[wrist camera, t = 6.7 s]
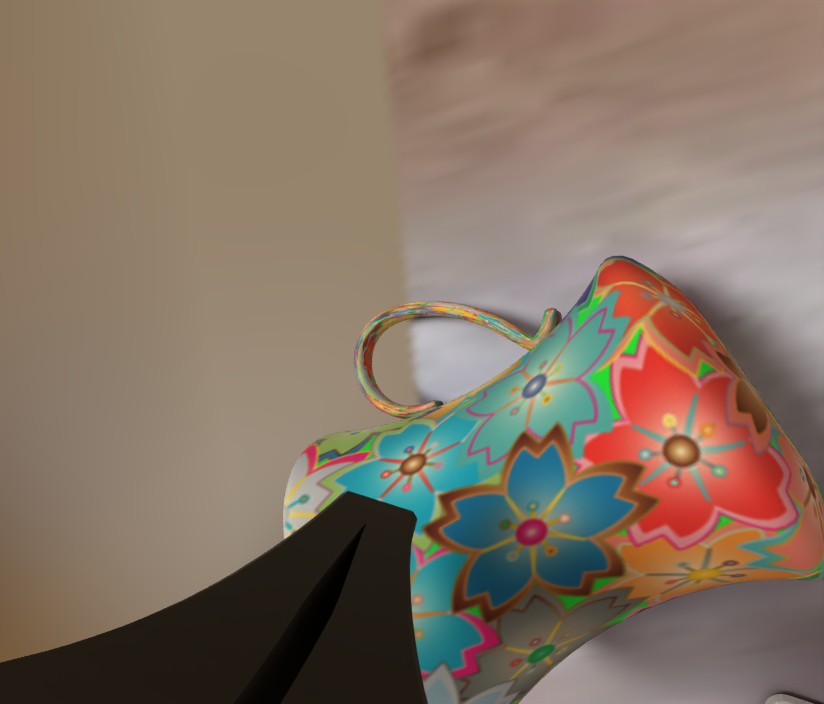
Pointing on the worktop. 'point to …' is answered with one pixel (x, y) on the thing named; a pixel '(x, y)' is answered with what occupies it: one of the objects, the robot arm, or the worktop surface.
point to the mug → (572, 483)
